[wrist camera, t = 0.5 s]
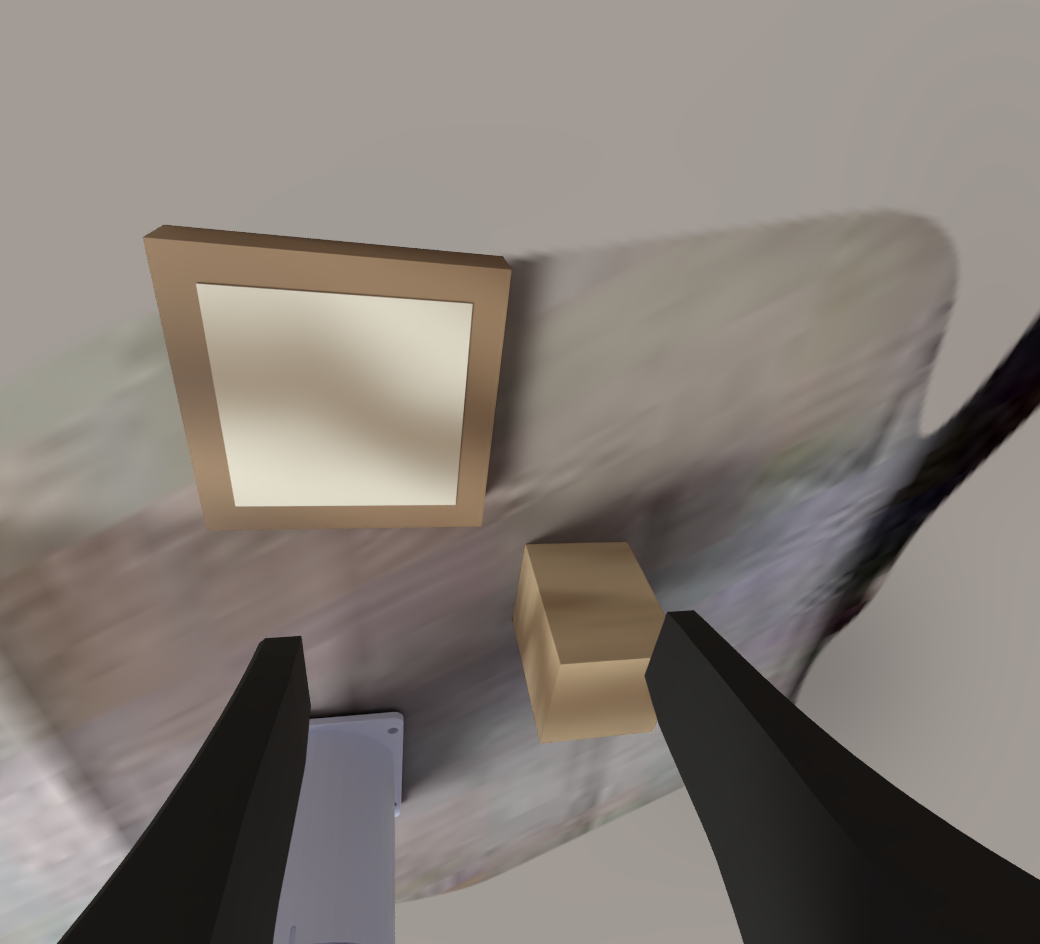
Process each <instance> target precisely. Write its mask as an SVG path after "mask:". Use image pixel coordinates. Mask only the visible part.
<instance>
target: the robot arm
mask: <svg viewBox="0 0 1040 944" xmlns="http://www.w3.org/2000/svg"><path fill="white" fill-rule="evenodd" d="M644 676H645V680H646V683H647V687H648V690H649V694H650V697H651V701H652V704H653V707H654V711H655V714H656V717H657V720H658V723H659V726H660V728H661V731H662V733H663V736H664V738H665V740H666V743H667V745H668V747H669V750H670V752H671V754H672V757H673V759H674V761H675V764H676V766H677V768H678V770H679V773H680V775H681V777H682V780H683V782H684V784H685V786H686V789H687V791H688V793H689V795H690V798H691V800H692V802H693V805H694V807H695V809H696V811H697V814H698V816H699V818H700V820H701V823H702V825H703V828H704V830H705V832H706V834H707V837H708V840H709V842H710V844H711V847H712V850H713V852H714V855H715V857H716V860H717V863H718V866H719V869H720V871H721V875H722V878H723V881H724V883H725V887H726V890H727V893H728V896H729V898H730V901H731V904H732V907H733V910H734V913H735V917H736V920H737V923H738V926H739V929H740V933H741V936H742V939H743V942H744V944H1040V880H1039V879H1037V878H1035V877H1034V876H1032V875H1030V874H1029V873H1027V872H1025V871H1024V870H1022V869H1021V868H1019V867H1017V866H1016V865H1014V864H1012V863H1011V862H1009V861H1007V860H1006V859H1004V858H1002V857H1001V856H999V855H997V854H996V853H994V852H992V851H991V850H989V849H988V848H986V847H984V846H983V845H981V844H980V843H978V842H977V841H975V840H973V839H972V838H970V837H969V836H967V835H966V834H964V833H962V832H961V831H959V830H958V829H956V828H955V827H953V826H952V825H950V824H949V823H947V822H946V821H945V820H943V819H941V818H940V817H938V816H937V815H936V814H934V813H933V812H931V811H930V810H928V809H927V808H925V807H924V806H922V805H921V804H919V803H918V802H917V801H915V800H914V799H912V798H911V797H909V796H908V795H906V794H905V793H904V792H902V791H901V790H900V789H898V788H897V787H895V786H894V785H893V784H891V783H890V782H888V781H887V780H886V779H885V778H883V777H882V776H881V775H879V774H878V773H877V772H876V771H874V770H873V769H872V768H870V767H869V766H867V765H866V764H865V763H864V762H862V761H861V760H860V759H858V758H857V757H856V756H854V755H853V754H852V753H851V752H849V751H848V750H847V749H846V748H844V747H843V746H842V745H841V744H839V743H838V742H837V741H836V740H835V739H833V738H832V737H831V736H830V735H829V734H828V733H826V732H825V731H824V730H823V729H822V728H820V727H819V726H818V725H817V724H816V723H815V722H813V721H812V720H811V719H810V718H808V717H807V716H806V715H805V714H804V713H803V712H802V711H801V710H799V709H798V708H797V707H796V706H795V705H794V704H793V703H792V702H790V701H789V700H788V699H787V698H786V697H785V696H784V695H783V694H782V693H781V692H779V691H778V690H777V689H776V688H775V687H774V686H773V685H772V684H771V683H770V682H769V681H768V680H766V679H765V678H764V677H763V676H762V675H761V674H760V673H759V672H758V671H757V670H756V669H755V668H754V667H753V666H752V665H751V664H750V663H748V662H747V661H746V660H745V659H744V658H743V657H742V656H741V655H740V654H739V653H738V652H737V651H736V650H735V649H734V648H733V647H732V646H731V645H730V644H729V643H728V642H727V641H726V640H725V639H724V638H723V637H721V636H720V635H719V634H718V633H717V632H716V631H715V630H714V629H713V628H712V627H711V626H710V625H709V624H708V623H707V622H706V621H705V620H704V619H703V618H702V617H701V616H699V615H698V614H697V613H696V612H695V611H694V610H691V611H676V612H667V614H666V617H665V620H664V622H663V625H662V628H661V631H660V633H659V636H658V639H657V642H656V645H655V647H654V650H653V653H652V656H651V658H650V661H649V664H648V667H647V670H646V672H645V675H644ZM310 709H311V704H310V697H309V689H308V682H307V675H306V667H305V660H304V653H303V645H302V638H301V636H293V637H278V638H265V639H264V640H263V641H261V642H260V643H259V645H258V647H257V649H256V651H255V653H254V655H253V657H252V659H251V661H250V663H249V665H248V667H247V669H246V671H245V673H244V675H243V677H242V679H241V681H240V683H239V684H238V686H237V688H236V690H235V692H234V693H233V695H232V697H231V699H230V700H229V702H228V704H227V706H226V707H225V709H224V711H223V713H222V714H221V716H220V718H219V719H218V721H217V723H216V724H215V726H214V727H213V729H212V731H211V732H210V734H209V736H208V737H207V739H206V740H205V742H204V744H203V745H202V747H201V749H200V750H199V752H198V753H197V755H196V757H195V758H194V760H193V761H192V763H191V764H190V766H189V768H188V769H187V771H186V772H185V773H184V775H183V776H182V778H181V779H180V781H179V782H178V784H177V785H176V787H175V788H174V790H173V791H172V793H171V794H170V795H169V797H168V798H167V800H166V801H165V803H164V804H163V806H162V807H161V809H160V810H159V812H158V813H157V815H156V816H155V818H154V819H153V820H152V822H151V823H150V825H149V826H148V827H147V829H146V830H145V831H144V833H143V834H142V836H141V837H140V838H139V840H138V841H137V842H136V844H135V845H134V847H133V848H132V849H131V851H130V852H129V853H128V855H127V856H126V857H125V859H124V860H123V861H122V863H121V864H120V865H119V866H118V868H117V869H116V870H115V872H114V873H113V874H112V876H111V877H110V878H109V879H108V881H107V882H106V883H105V885H104V886H103V887H102V889H101V890H100V891H99V892H98V894H97V895H96V896H95V897H94V899H93V900H92V901H91V902H90V904H89V905H88V906H87V907H86V909H85V910H84V911H83V912H82V914H81V915H80V916H79V917H78V918H77V920H76V921H75V922H74V923H73V925H72V926H71V927H70V928H69V929H68V931H67V932H66V933H65V934H64V936H63V937H62V938H61V939H60V940H59V942H58V943H57V944H395V817H397V816H398V815H399V814H400V813H401V790H402V757H403V725H404V720H403V715H402V714H401V713H398V712H387V713H375V714H364V715H352V716H341V717H329V718H317V719H310Z"/></svg>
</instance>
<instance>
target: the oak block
mask: <svg viewBox="0 0 1040 944" xmlns="http://www.w3.org/2000/svg"><path fill="white" fill-rule="evenodd" d="M665 617H666V616H665V614H664V612H663V610H662V608H661V606H660V604H659V602H658V600H657V598H656V597H655V595H654V593H653V591H652V589H651V587H650V585H649V583H648V581H647V579H646V577H645V575H644V573H643V571H642V569H641V567H640V566H639V564H638V562H637V560H636V558H635V556H634V554H633V552H632V550H631V548H630V546H629V544H628V542H601V543H558V544H526V545H525V551H524V556H523V562H522V568H521V573H520V579H519V585H518V590H517V596H516V602H515V607H514V613H513V619H512V620H513V625H514V629H515V634H516V638H517V643H518V647H519V652H520V656H521V660H522V665H523V669H524V674H525V678H526V683H527V687H528V692H529V696H530V700H531V705H532V709H533V714H534V718H535V723H536V727H537V732H538V736H539V740H540V743H550V742H559V741H569V740H578V739H588V738H597V737H607V736H616V735H626V734H635V733H645V732H653V729H654V727H655V725H656V722H657V717H656V714H655V711H654V707H653V704H652V701H651V697H650V694H649V690H648V687H647V683H646V680H645V676H644V675H645V672H646V670H647V667H648V664H649V661H650V658H651V656H652V653H653V650H654V647H655V645H656V642H657V639H658V636H659V633H660V631H661V628H662V625H663V622H664V620H665Z"/></svg>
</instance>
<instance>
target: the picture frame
mask: <svg viewBox="0 0 1040 944" xmlns="http://www.w3.org/2000/svg"><path fill="white" fill-rule="evenodd" d="M143 240H144V245H145V249H146V254H147V259H148V264H149V268H150V272H151V277H152V282H153V286H154V291H155V295H156V300H157V305H158V309H159V314H160V319H161V323H162V328H163V332H164V337H165V342H166V346H167V351H168V355H169V360H170V365H171V369H172V374H173V378H174V383H175V387H176V392H177V397H178V401H179V406H180V410H181V415H182V420H183V424H184V429H185V433H186V438H187V443H188V447H189V452H190V456H191V461H192V466H193V470H194V475H195V479H196V484H197V488H198V493H199V498H200V502H201V507H202V511H203V516H204V521H205V525H206V530H269V529H333V528H398V527H462V526H482V517H483V509H484V500H485V492H486V483H487V475H488V466H489V458H490V449H491V441H492V433H493V424H494V416H495V407H496V399H497V390H498V382H499V373H500V365H501V356H502V348H503V339H504V331H505V322H506V314H507V306H508V297H509V289H510V280H511V272H512V269H511V268H510V266H509V265H508V263H507V262H506V260H505V259H504V257H503V256H493V255H482V254H471V253H461V252H449V251H439V250H428V249H418V248H407V247H396V246H385V245H375V244H364V243H353V242H342V241H332V240H321V239H311V238H310V239H309V238H300V237H289V236H277V235H268V234H256V233H246V232H235V231H224V230H213V229H202V228H192V227H181V226H171V225H162V226H161V227H159V228H157V229H156V230H154V231H153V232H151V233H149V234H148V235H146V236H144V237H143Z"/></svg>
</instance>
